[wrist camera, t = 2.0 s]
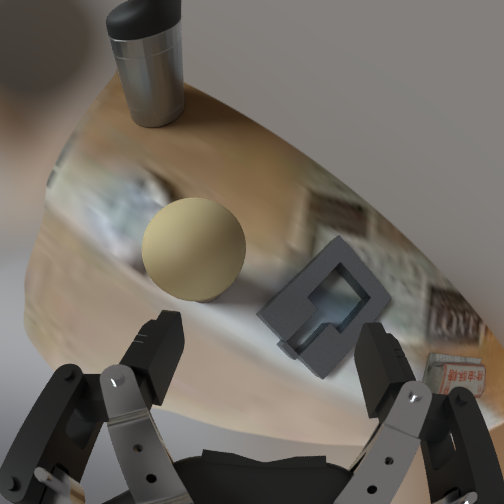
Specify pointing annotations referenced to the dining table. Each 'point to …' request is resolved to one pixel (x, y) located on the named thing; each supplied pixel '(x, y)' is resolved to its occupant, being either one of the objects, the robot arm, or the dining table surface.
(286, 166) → the dining table surface
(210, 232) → the walnut peg
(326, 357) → the keyhole plate
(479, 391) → the packaged product
